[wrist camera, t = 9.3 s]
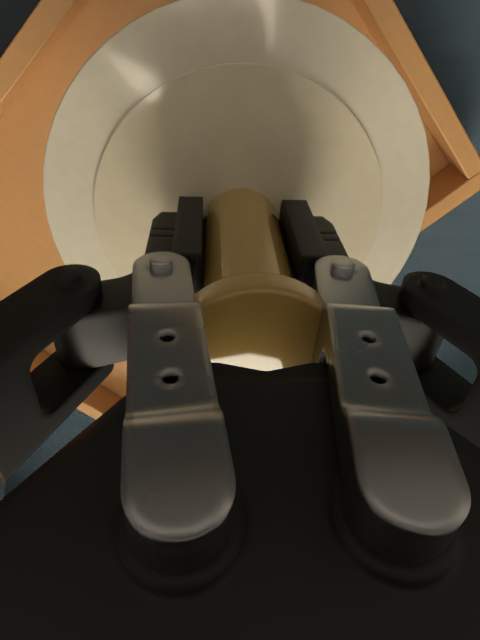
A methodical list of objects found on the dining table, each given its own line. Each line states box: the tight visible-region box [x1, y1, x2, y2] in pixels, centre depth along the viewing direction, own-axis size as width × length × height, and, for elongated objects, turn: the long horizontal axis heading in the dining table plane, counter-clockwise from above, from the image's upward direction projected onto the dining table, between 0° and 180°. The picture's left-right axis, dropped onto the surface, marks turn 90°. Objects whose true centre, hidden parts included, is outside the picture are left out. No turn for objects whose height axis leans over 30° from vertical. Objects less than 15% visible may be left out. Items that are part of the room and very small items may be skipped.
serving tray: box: [0, 0, 480, 419], centre depth 21 cm, size 17×25×3 cm
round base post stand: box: [43, 0, 430, 371], centre depth 12 cm, size 12×12×7 cm
